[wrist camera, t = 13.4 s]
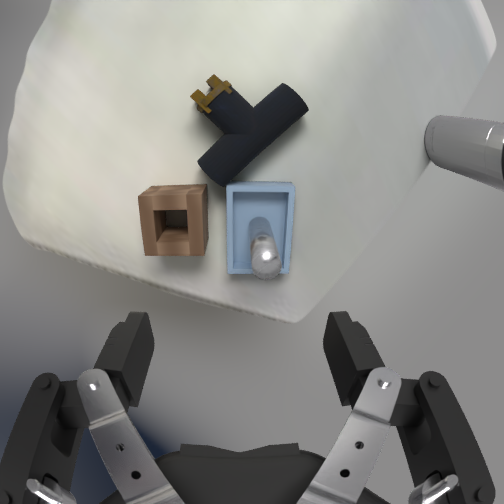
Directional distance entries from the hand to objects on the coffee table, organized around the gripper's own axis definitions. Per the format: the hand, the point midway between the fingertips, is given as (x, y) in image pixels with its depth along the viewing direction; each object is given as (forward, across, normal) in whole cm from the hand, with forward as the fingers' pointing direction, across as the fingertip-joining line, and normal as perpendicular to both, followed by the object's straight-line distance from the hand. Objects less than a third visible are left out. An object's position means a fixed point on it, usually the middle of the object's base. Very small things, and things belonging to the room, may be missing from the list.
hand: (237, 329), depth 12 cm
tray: (+30, -3, +6) cm, 31 cm away
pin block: (+30, +8, +4) cm, 32 cm away
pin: (+29, -3, +6) cm, 30 cm away
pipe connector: (+31, 0, -10) cm, 32 cm away
